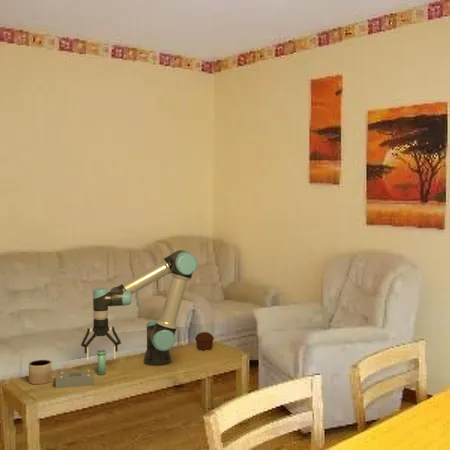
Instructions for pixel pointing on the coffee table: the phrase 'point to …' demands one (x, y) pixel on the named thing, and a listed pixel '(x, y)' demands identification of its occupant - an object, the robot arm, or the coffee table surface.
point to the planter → (40, 372)
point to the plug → (101, 362)
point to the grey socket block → (74, 378)
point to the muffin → (204, 341)
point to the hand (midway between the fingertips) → (101, 358)
